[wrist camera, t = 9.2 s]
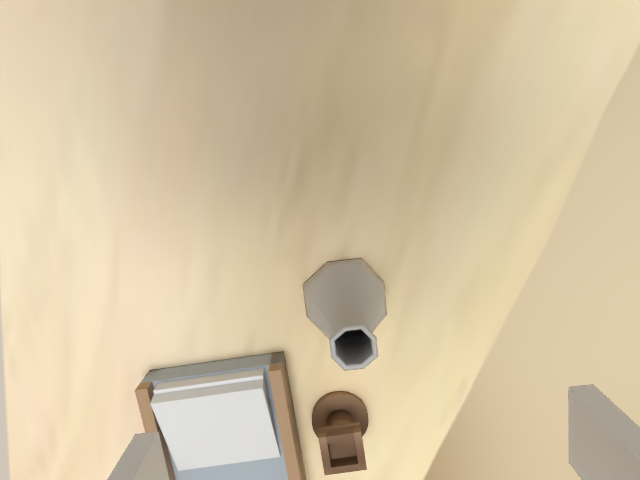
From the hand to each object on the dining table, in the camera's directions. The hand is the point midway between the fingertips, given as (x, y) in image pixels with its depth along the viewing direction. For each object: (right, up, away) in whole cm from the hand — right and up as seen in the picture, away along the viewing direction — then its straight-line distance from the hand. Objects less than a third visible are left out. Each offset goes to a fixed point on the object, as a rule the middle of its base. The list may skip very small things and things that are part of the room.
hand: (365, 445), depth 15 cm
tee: (0, -9, +27) cm, 29 cm away
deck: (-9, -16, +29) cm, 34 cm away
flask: (+1, +2, +25) cm, 25 cm away
